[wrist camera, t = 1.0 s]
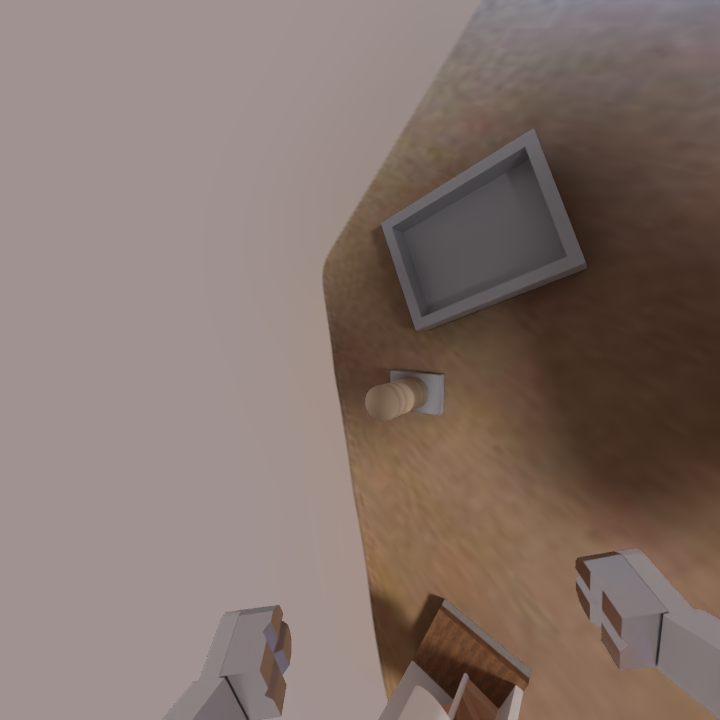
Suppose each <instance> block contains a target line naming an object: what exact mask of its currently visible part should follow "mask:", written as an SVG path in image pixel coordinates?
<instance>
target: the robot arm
mask: <svg viewBox="0 0 720 720" xmlns="http://www.w3.org/2000/svg"><path fill="white" fill-rule="evenodd" d="M575 568H576V570H577V571H578V573H579V574H580V576H579V577H578V578H577V579H576V591H577V594H578V598H579V601H580V603H581V606H582V608H583V610H584V612H585V614H586V615H587V617H588V619H589V620H590V622H592V623H593V624H594V625H596V626H597V627H599V628H600V629H601V641H602V642H603V644H604V646H605V647H606V649H607V651H608V652H609V654H610V656H611V657H612V659H613V661H614V662H615V664H616V666H617V667H618V669H619V671H621V670H631V669H641V668H650V667H658V668H657V669H658V670H659V671H660V672H662V673H663V674H664V675H665V676H666V677H668V678H669V679H670V680H671V681H673V682H674V683H675V684H676V685H677V686H679V687H680V688H681V689H682V690H684V691H685V692H686V693H687V694H689V695H690V696H691V697H692V698H693V699H695V700H696V701H697V702H698V703H700V704H701V705H702V706H703V707H704V708H706V709H707V710H708V711H709V712H711V713H712V714H713V715H714V716H715V717H717V718H718V719H719V720H720V619H718V618H716V617H714V616H712V615H711V614H709V613H707V612H705V611H704V610H702V609H693V608H692V607H691V606H690V605H689V603H688V602H687V601H686V600H685V599H684V598H683V597H682V596H681V595H680V593H679V592H678V591H677V590H676V589H675V588H674V587H673V586H672V584H671V583H670V582H669V581H668V580H667V579H666V578H665V577H664V576H663V574H662V573H661V572H660V571H659V570H658V569H657V568H656V567H655V565H654V564H653V563H652V562H651V561H650V560H649V559H648V558H647V557H646V555H645V554H644V553H643V552H642V551H640V550H639V549H629V550H623V551H617V552H614V551H613V552H607V553H602V554H596V555H590V556H584V557H579V558H577V559H576V565H575ZM282 616H283V613H282V610H281V608H280V606H279V605H276V606H269V607H261V608H253V609H245V610H238V611H231V612H225V614H224V615H223V617H222V618H221V620H220V623H219V626H218V629H217V631H216V634H215V637H214V640H213V643H212V645H211V648H210V651H209V654H208V656H207V659H206V662H205V665H204V668H203V671H202V673H201V676H200V679H199V681H195V682H193V683H192V684H191V685H190V686H189V688H188V689H187V690H186V691H185V693H184V694H183V695H182V696H181V697H180V698H179V699H178V701H177V702H176V703H175V704H174V705H173V707H172V708H171V709H170V710H169V711H168V713H167V714H166V715H165V716H164V717H163V719H162V720H262V719H268V718H274V717H280V716H281V715H282V708H283V702H284V696H285V690H286V683H285V680H284V678H283V676H282V675H283V674H284V672H285V671H286V669H287V668H288V666H289V665H290V657H291V635H290V630H289V627H288V625H287V624H286V623H285V622H283V621H282Z"/></svg>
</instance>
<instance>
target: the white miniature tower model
mask: <svg viewBox="0 0 720 720" xmlns="http://www.w3.org/2000/svg"><path fill="white" fill-rule="evenodd" d="M530 673H531V670H530V669H529V668H528V667H526V666H525V665H524V664H523V663H522V662H520V661H519V660H518V659H517V658H516V657H514V656H513V655H512V654H511V653H509V652H508V651H507V650H506V649H505V648H503V647H502V646H501V645H500V644H499V643H497V642H496V641H495V640H494V639H493V638H491V637H490V636H489V635H488V634H487V633H485V632H484V631H483V630H482V629H480V628H479V627H478V626H477V625H476V624H474V623H473V622H472V621H471V620H470V619H468V618H467V617H466V616H465V615H464V614H462V613H461V612H460V611H459V610H458V609H456V608H455V607H454V606H453V605H452V604H450V603H449V602H448V601H447V600H444V601H443V603H442V605H441V607H440V609H439V610H438V612H437V614H436V616H435V618H434V620H433V622H432V623H431V625H430V627H429V629H428V631H427V633H426V635H425V637H424V639H423V640H422V642H421V644H420V646H419V648H418V650H417V652H416V654H415V655H414V657H413V659H412V661H411V663H410V665H409V666H408V668H407V670H406V672H405V673H404V675H403V677H402V679H401V681H400V682H399V684H398V686H397V688H396V689H395V691H394V693H393V695H392V697H391V698H390V700H389V702H388V704H387V705H386V707H385V709H384V711H383V713H382V714H381V716H380V718H379V720H518V716H519V711H520V706H521V701H522V696H523V692H524V690H525V688H526V687H527V686H528V683H529V678H530Z"/></svg>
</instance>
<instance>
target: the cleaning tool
mask: <svg viewBox="0 0 720 720" xmlns="http://www.w3.org/2000/svg"><path fill="white" fill-rule="evenodd" d="M444 384H445V374H438V373H426V372H415V371H403V370H392V371H390V382H389V383H386V384H382V385H378V386H374V387H372V388H371V389H370V390H369V391H368V392H367V394H366V398H365V406H366V409H367V412H368V413H369V415H370V416H371V417H372V418H373V419H375V420H376V421H379V422H386V421H389V420H391V419H393V418H396V417H398V416H400V415H403V414H405V413H407V412H409V411H414V412H421V413H427V414H434V415H441V414H443V413H444Z"/></svg>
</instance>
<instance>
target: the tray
mask: <svg viewBox="0 0 720 720" xmlns="http://www.w3.org/2000/svg"><path fill="white" fill-rule="evenodd" d="M381 226H382V229H383V232H384V235H385V238H386V241H387V244H388V247H389V250H390V253H391V256H392V259H393V262H394V265H395V269H396V272H397V275H398V278H399V281H400V284H401V287H402V290H403V293H404V296H405V299H406V302H407V305H408V308H409V312H410V315H411V318H412V321H413V324H414V327H415V330H431V329H433V328H436V327H439V326H441V325H444V324H446V323H449V322H451V321H454V320H456V319H459V318H462V317H464V316H467V315H469V314H472V313H474V312H477V311H480V310H482V309H485V308H487V307H490V306H492V305H495V304H498V303H500V302H503V301H505V300H508V299H510V298H513V297H515V296H518V295H521V294H523V293H526V292H528V291H531V290H533V289H536V288H539V287H541V286H544V285H546V284H549V283H551V282H554V281H557V280H559V279H562V278H564V277H567V276H569V275H572V274H574V273H577V272H580V271H582V270H585V269H587V265H586V261H585V259H584V256H583V253H582V251H581V248H580V246H579V243H578V241H577V238H576V235H575V233H574V230H573V228H572V225H571V223H570V220H569V217H568V215H567V212H566V210H565V207H564V204H563V202H562V199H561V197H560V194H559V192H558V189H557V186H556V184H555V181H554V179H553V176H552V174H551V171H550V168H549V166H548V163H547V161H546V158H545V156H544V153H543V150H542V148H541V145H540V143H539V140H538V137H537V135H536V132H535V130H534V128H532V129H531V130H529V131H528V132H526V133H524V134H523V135H521V136H520V137H518V138H516V139H515V140H513V141H512V142H510V143H508V144H507V145H505V146H504V147H502V148H500V149H499V150H497V151H496V152H494V153H492V154H491V155H489V156H488V157H486V158H484V159H483V160H481V161H480V162H478V163H476V164H475V165H473V166H472V167H470V168H468V169H467V170H465V171H464V172H462V173H460V174H459V175H457V176H455V177H454V178H452V179H451V180H449V181H447V182H446V183H444V184H443V185H441V186H439V187H438V188H436V189H435V190H433V191H431V192H430V193H428V194H427V195H425V196H423V197H422V198H420V199H419V200H417V201H415V202H414V203H412V204H411V205H409V206H407V207H406V208H404V209H403V210H401V211H399V212H398V213H396V214H395V215H393V216H391V217H390V218H388V219H387V220H385V221H383V222H382V223H381Z"/></svg>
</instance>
